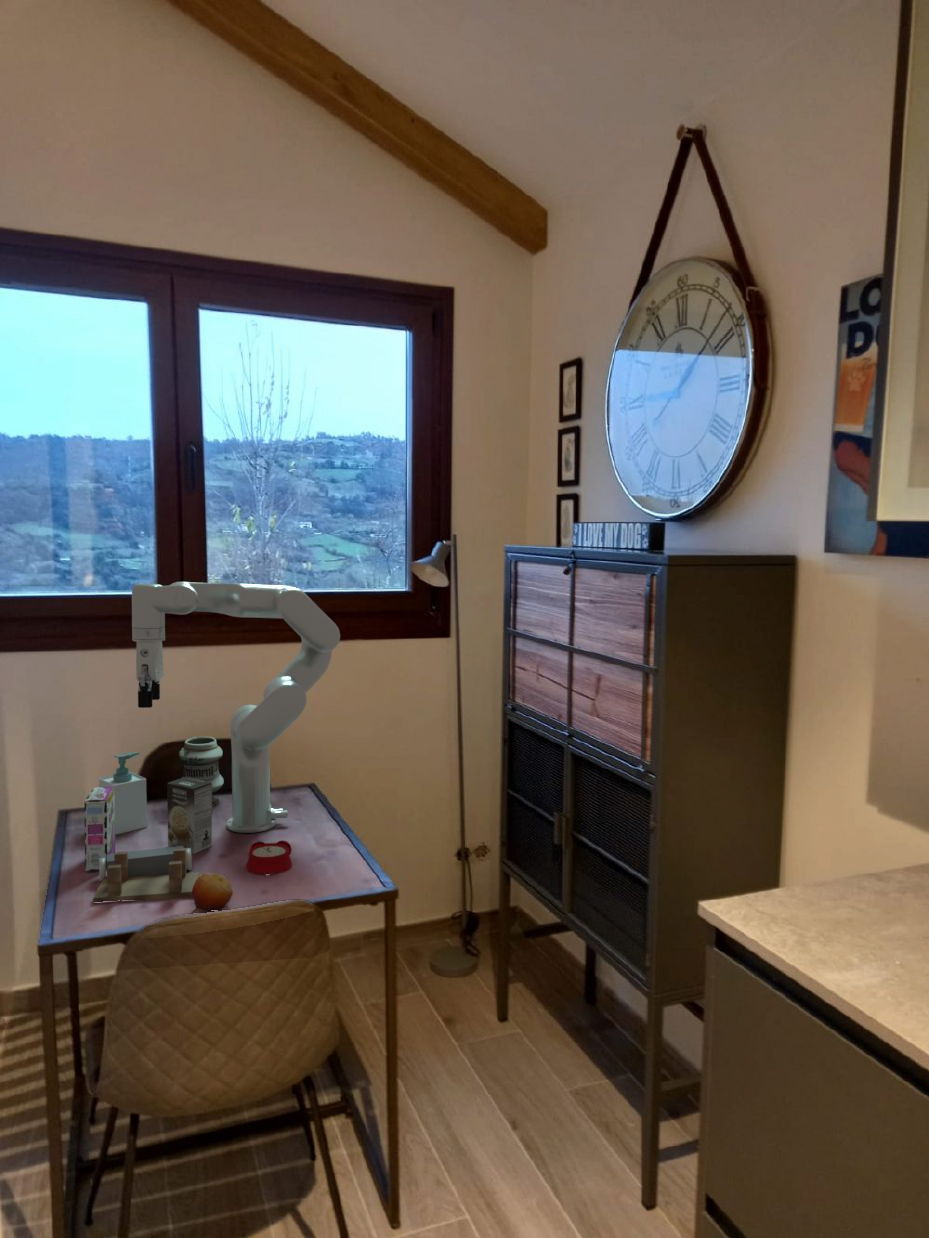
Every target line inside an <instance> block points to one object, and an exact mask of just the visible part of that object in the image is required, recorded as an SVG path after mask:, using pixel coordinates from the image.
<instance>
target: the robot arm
mask: <svg viewBox="0 0 929 1238" xmlns="http://www.w3.org/2000/svg"><path fill="white" fill-rule="evenodd" d="M192 612H202V613H203V612H207V613H208V612H209V613H217V614H221V615H227V616H230V617H235V618H256V619H257V618H258V619H260V618H261V619H262V618H263V619H283V620H284V621H285V623H286V624H288V626H290V628H291V629H293V631H294V632H296V633H297V635H298V636H300V638H301V645H300V650H299V652H298V653H297V655H296V656H295V658H293V660H292V661H291V662H290V663H288V665H287V666H286V667H284V668H283V670H281V672H279V673H278V674H277V675H276V676H274V678H273V679H272V680H270V681H269V682H268V683H267V684H266V686H265V688H264V689H263V693H262V694H263V700H261V701H260V702H259V704H258V705H255V704H245V705H242V706H241V707H238V709H236V710H235V712H234V713H233V714H232V717H231V719H230V724H229V726H230V727H229V729H230V731H229V732H230V743H231V789H232V790H231V791H232V792H231V794H232V795H231V799H232V800H231V801H232V804H231V805H232V806H231V807H232V817H230V818H229V819H228V820H227V821H226V826H225V827H226V829H228V830H229V831H231V832H235V833H241V834H242V833H243V834H248V833H249V834H251V833H252V834H253V833H260V832H265V831H267V830H271V829H273V828H274V827H275V826H276V825H277V819H279V818H280V819H288V810H283V809H284V808H278V809H277V808H272V803H271V782H270V781H271V774H270V772H271V771H270V770H271V767H270V766H271V756H270V754H271V753H270V752H271V751H270V745H271V744H273V743H274V742H275V741H276V740H277V739H278V738H279V737H280V736H281V735H282V734H283V733H284V732H285V731H286V730H287V729H288V728H289V727H290V726H291V725H292V724H294V723H295V722H296V720H297V719H298V718H299V717H301V715H302V714H303V712H304V710H305V708H306V705H307V693H308V692H309V691H310V690H311V689H312V688H313V687H314V686H315V685H316V683H318V682H319V680H320V679H321V678H322V677H323V676H324V675H325V673H326V672H327V669H328V668H329V665H330V662H331V659H332V653H333V650H335V649H336V648H337V646H338V645H339V643H340V639H341V633H340V629H339V627H338V626H337V624H336V623H335V622H334V621H333V620H332V619H331V618H330V617H329V616H328V615H327V614H326V613H325V612H324V611H323V610H322V609H321V608H320V607H319V606H318V605H317V604H316V603H315V602H314V601H313V600H312V598H311V597H309V596H308V594H307V593H305V591H303V590H301V588H298V587H297V588H296V587H294V586H291V585H278V584H277V585H276V584H275V585H274V584H251V583H230V582H229V583H216V582H215V583H212V582H191V581H176V582H173V583H171V584H169V585H162V584H158V583H137V584H134V585H133V586H132V589H131V629H132V630H131V631H132V633H131V634H132V635H131V636H132V639H131V641H133V642H136V650H135V651H136V656H135V666H136V667H135V668H136V669H135V673H136V674H135V675H136V680H137V682H138V686H137V687H138V688H137V708H141V709H144V708H145V709H146V708H147V709H149V708H150V709H151V708H152V707H153V701H157V700H160V699H161V688H160V687H161V684H160V680H161V679H162V678H164V674H165V671H164V670H165V669H164V667H165V666H164V652H163V651H164V650H163V641H166V627H165V626H166V622H165V621H166V615H165V614H171V615H172V614H173V615H187V614H189V613H190V614H191V613H192Z"/></svg>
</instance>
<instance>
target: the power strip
mask: <svg viewBox="0 0 929 1238" xmlns="http://www.w3.org/2000/svg"><path fill="white" fill-rule="evenodd" d="M175 848H183V846H175V847H168V846H167V847H159V848H150V849H142V850H132V851H128V877H140V876H156V875H169V862H172V861H173V851H174V849H175ZM114 854H115V853H114ZM114 854H107V868H108V866H109V865H115V860H114ZM192 864H193V863H192V853H191V848H186V871H192ZM98 872H99V873H98V875H99V877H98V878H99V882H102V880H103V879H108V876H107V870H106V860H105V858H100V859H99V871H98Z"/></svg>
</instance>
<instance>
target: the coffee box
mask: <svg viewBox="0 0 929 1238" xmlns="http://www.w3.org/2000/svg"><path fill="white" fill-rule="evenodd" d="M182 777H183V776H182ZM182 777H181V778H178V779H176V780H172V781H168V782H167V783H166V786H167V787H166V788H167V789H166V790H167V791H166V792H167V793H166V795H167V796H166V797H167V799H166V800H167V801H166V803H167V804H166V805H167V807H166V808H167V847H175V846H183V848H191V854H193V855H194V854H196V853H199V852H202V851H204V850H206V849H208V848H211V847H212V846H213V809H212V808H213V806H212V796H213V793H212V783H211V782H207V781H202V780H198V779H194V778H190V777H183V778H182Z"/></svg>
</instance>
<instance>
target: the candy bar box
mask: <svg viewBox="0 0 929 1238" xmlns="http://www.w3.org/2000/svg"><path fill="white" fill-rule="evenodd" d="M83 806H84V810H83V811H84V861H85V862H84V865H85V867H84V869H85V870H84V871H85V872H87V873H89V872H99V859H100V858H105V860H106V871H107V854H114V853H115V852H116V835H115V787H99V786H98V787H92V790H91V791H90V793H89V794H88V795H87V796H86V798H85V799H84V805H83Z"/></svg>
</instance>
